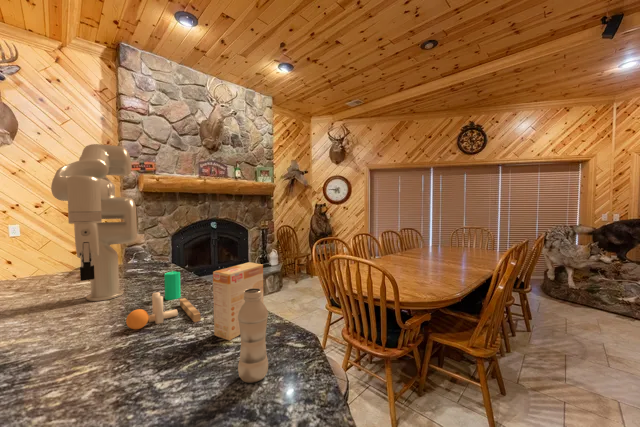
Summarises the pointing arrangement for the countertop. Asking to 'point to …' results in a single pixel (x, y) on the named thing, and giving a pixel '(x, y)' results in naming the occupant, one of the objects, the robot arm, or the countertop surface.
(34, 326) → the countertop surface
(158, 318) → the back pin near
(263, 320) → the plastic bottle
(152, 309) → the back pin far
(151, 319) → the front pin
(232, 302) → the coffeecake box
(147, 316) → the ball
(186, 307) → the back wall
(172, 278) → the candle
